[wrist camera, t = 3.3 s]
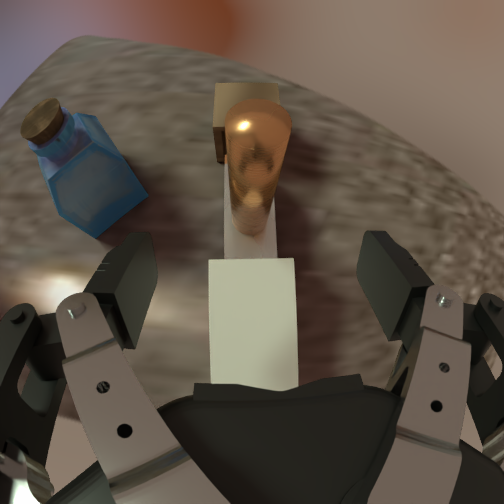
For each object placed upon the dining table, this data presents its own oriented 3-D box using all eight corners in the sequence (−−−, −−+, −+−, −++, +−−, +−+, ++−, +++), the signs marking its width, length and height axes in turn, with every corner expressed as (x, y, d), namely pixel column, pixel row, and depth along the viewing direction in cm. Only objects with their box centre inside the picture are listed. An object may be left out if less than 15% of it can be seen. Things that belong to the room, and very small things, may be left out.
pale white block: (218, 387, 21) (212, 405, 15) (215, 273, 23) (208, 259, 18) (285, 384, 21) (298, 402, 16) (282, 272, 23) (293, 258, 18)
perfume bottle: (119, 153, 25) (67, 69, 13) (148, 195, 24) (92, 108, 12) (71, 192, 24) (0, 126, 12) (95, 238, 23) (10, 180, 11)
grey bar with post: (229, 377, 20) (212, 456, 7) (226, 176, 24) (216, 45, 11) (275, 375, 20) (325, 449, 7) (267, 176, 24) (290, 46, 11)
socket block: (217, 162, 25) (212, 126, 20) (218, 120, 26) (215, 83, 21) (275, 161, 25) (282, 126, 20) (271, 119, 26) (277, 83, 21)
